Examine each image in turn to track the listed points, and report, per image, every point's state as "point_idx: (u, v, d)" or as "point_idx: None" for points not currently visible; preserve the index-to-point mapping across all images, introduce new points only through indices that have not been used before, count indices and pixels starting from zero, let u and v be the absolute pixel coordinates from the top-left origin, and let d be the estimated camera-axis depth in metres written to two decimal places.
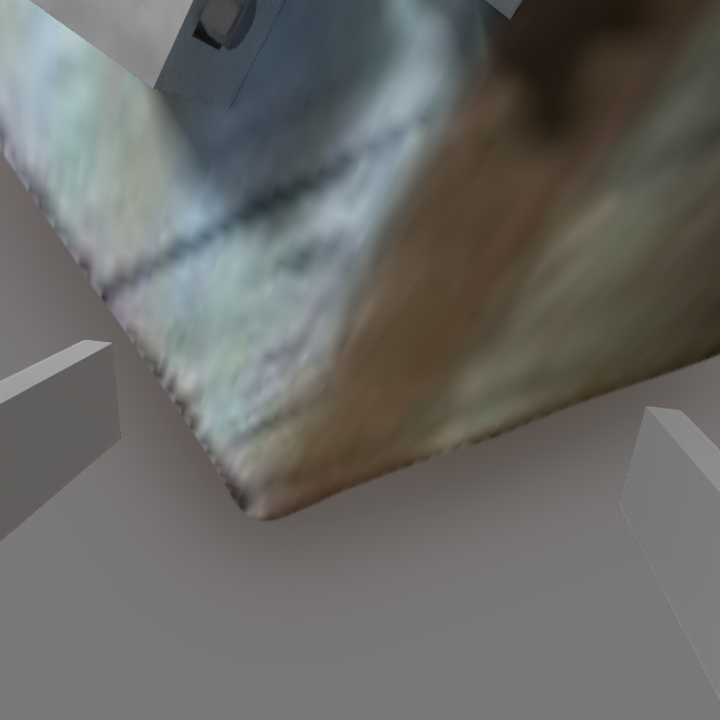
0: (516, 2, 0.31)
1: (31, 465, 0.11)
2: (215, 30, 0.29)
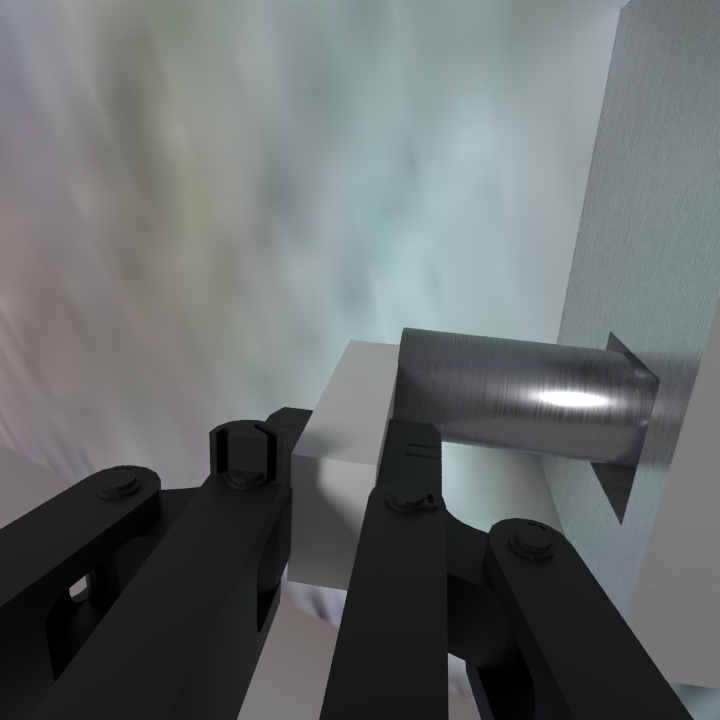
0: None
1: None
2: None
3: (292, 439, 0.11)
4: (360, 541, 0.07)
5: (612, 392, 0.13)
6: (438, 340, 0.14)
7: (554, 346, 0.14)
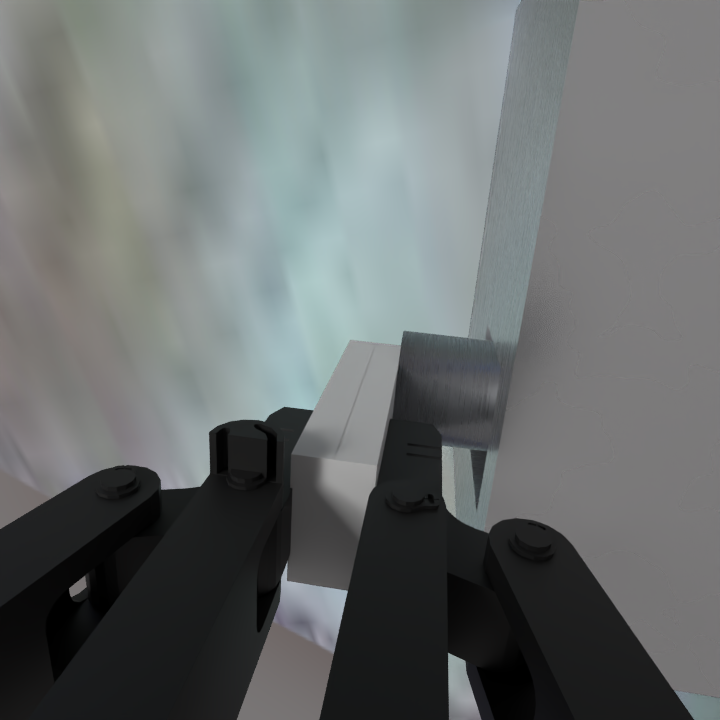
0: None
1: None
2: None
3: (292, 439, 0.11)
4: (360, 541, 0.07)
5: None
6: (439, 343, 0.14)
7: None
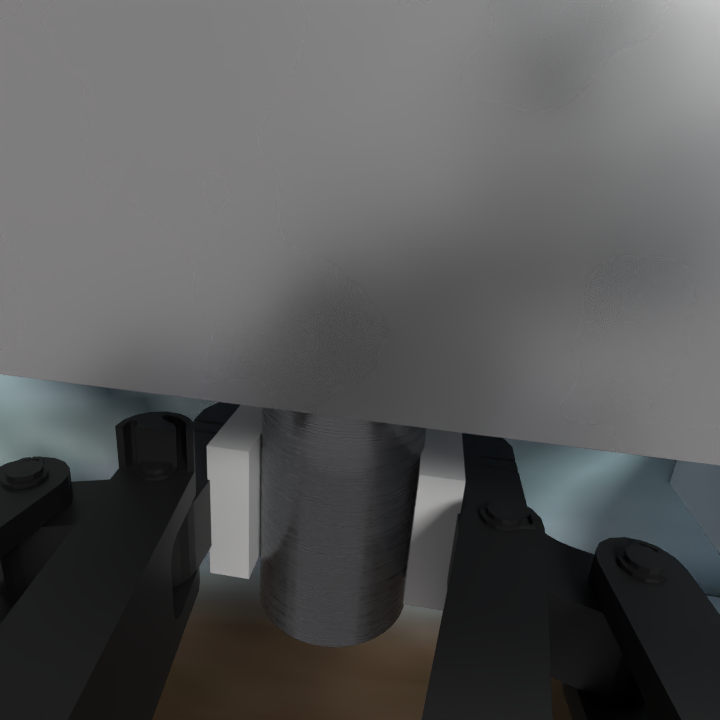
0: None
1: None
2: (273, 598, 0.10)
3: None
4: (455, 556, 0.07)
5: None
6: None
7: None
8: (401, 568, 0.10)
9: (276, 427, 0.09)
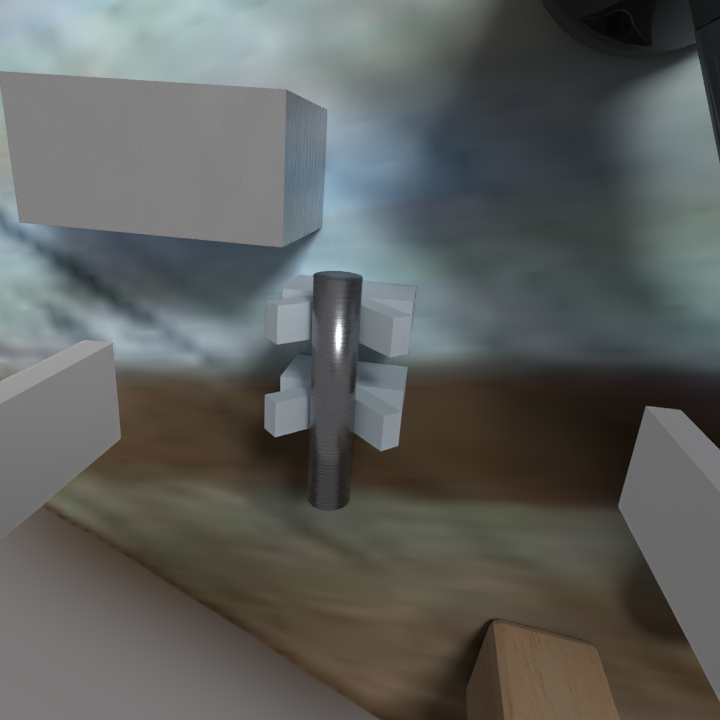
0: None
1: (31, 465, 0.11)
2: (310, 496, 0.38)
3: None
4: None
5: (339, 365, 0.34)
6: (356, 296, 0.33)
7: (357, 342, 0.34)
8: (344, 491, 0.38)
9: (311, 452, 0.37)
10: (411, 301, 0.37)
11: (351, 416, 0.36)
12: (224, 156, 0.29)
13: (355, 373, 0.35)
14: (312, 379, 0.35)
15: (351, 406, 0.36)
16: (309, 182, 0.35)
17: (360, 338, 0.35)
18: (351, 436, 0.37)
